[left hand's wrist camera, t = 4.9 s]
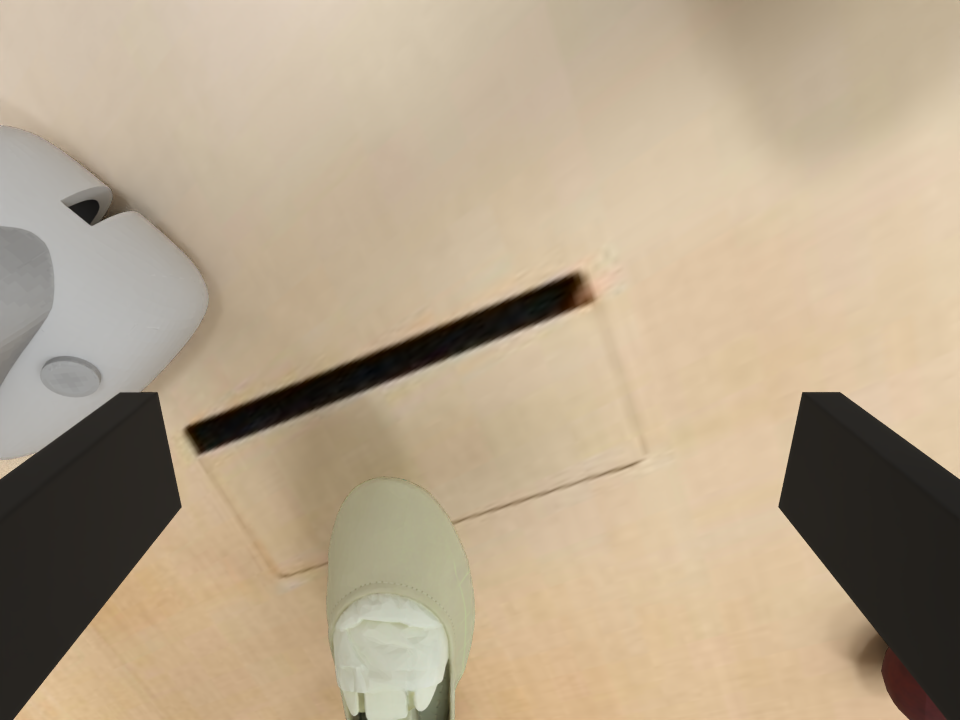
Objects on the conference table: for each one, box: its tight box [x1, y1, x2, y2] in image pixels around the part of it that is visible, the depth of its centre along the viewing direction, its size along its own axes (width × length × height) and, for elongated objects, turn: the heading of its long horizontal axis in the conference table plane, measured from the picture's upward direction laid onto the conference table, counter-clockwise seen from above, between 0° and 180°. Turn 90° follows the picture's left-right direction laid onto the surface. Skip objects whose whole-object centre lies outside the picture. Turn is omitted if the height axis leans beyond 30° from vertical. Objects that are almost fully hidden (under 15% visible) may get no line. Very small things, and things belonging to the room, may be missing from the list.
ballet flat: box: [326, 477, 475, 720], centre depth 34 cm, size 8×25×8 cm, turn 2°
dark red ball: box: [881, 647, 947, 720], centre depth 49 cm, size 7×8×7 cm
